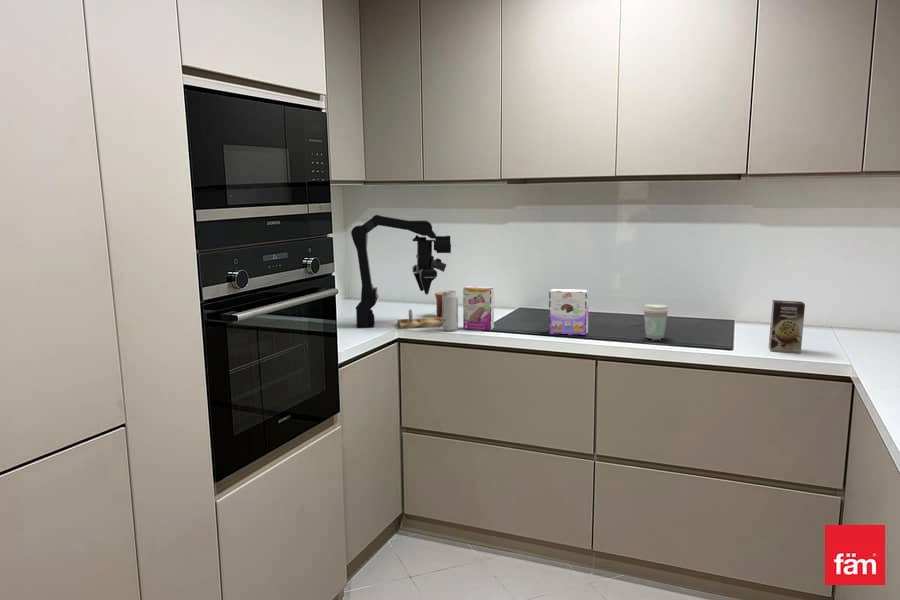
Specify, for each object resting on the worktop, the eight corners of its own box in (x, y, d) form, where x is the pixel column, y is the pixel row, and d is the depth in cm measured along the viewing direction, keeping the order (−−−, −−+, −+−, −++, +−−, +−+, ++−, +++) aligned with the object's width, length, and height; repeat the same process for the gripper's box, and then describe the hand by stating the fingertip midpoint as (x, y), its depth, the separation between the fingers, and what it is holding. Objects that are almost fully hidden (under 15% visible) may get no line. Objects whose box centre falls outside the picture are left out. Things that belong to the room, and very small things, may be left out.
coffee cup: (639, 336, 239) (640, 303, 237) (663, 336, 238) (664, 303, 236) (645, 341, 230) (646, 307, 228) (670, 341, 230) (671, 307, 228)
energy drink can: (441, 328, 255) (441, 290, 252) (457, 328, 255) (457, 290, 253) (442, 332, 249) (442, 292, 247) (458, 331, 249) (458, 292, 247)
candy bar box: (462, 329, 253) (462, 287, 250) (466, 327, 257) (466, 285, 255) (491, 331, 249) (491, 288, 247) (494, 328, 254) (494, 286, 251)
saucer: (410, 324, 258) (410, 310, 257) (408, 322, 263) (408, 308, 262) (412, 324, 258) (412, 310, 257) (410, 322, 263) (410, 308, 263)
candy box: (588, 333, 245) (589, 289, 242) (585, 336, 239) (587, 291, 237) (551, 331, 249) (552, 287, 247) (548, 334, 244) (548, 290, 241)
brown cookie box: (770, 351, 215) (773, 302, 212) (768, 347, 221) (771, 299, 218) (801, 353, 211) (805, 304, 209) (798, 349, 217) (802, 300, 215)
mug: (432, 316, 281) (431, 292, 279) (451, 314, 284) (450, 291, 282) (442, 321, 270) (441, 296, 268) (461, 319, 273) (461, 295, 271)
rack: (400, 328, 255) (400, 323, 255) (397, 324, 264) (397, 319, 264) (446, 326, 259) (446, 321, 259) (441, 322, 268) (441, 317, 268)
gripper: (450, 255, 250) (449, 295, 252) (439, 250, 268) (438, 288, 270) (421, 255, 247) (421, 296, 250) (412, 250, 265) (412, 289, 268)
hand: (424, 292), depth 259 cm, fingers open, 9 cm apart
